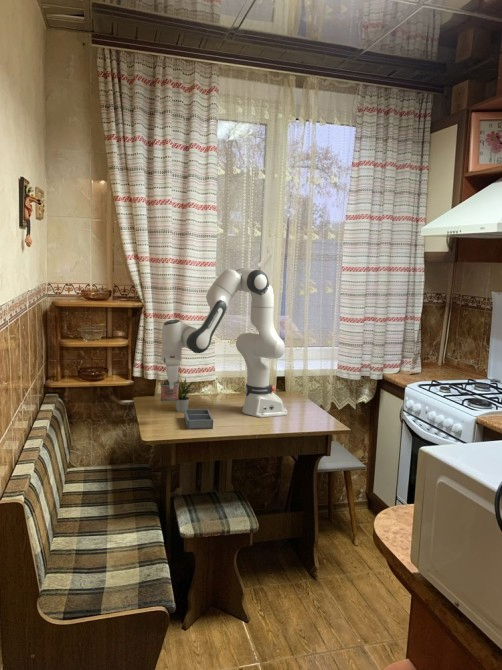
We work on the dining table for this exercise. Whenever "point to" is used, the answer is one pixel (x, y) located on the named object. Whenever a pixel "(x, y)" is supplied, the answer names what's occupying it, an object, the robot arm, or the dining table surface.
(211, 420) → the cell holder
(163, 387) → the red grey packet
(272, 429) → the dining table surface
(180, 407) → the house plant
